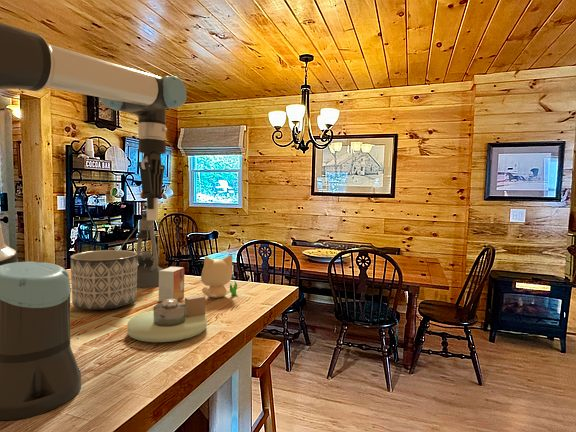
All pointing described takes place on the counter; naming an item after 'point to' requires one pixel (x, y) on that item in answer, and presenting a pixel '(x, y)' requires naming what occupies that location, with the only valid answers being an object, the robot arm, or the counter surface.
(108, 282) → the planter
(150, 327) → the turntable
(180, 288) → the small box
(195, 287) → the counter surface
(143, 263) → the lantern
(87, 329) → the counter surface
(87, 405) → the counter surface
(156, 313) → the cover
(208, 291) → the kitten
